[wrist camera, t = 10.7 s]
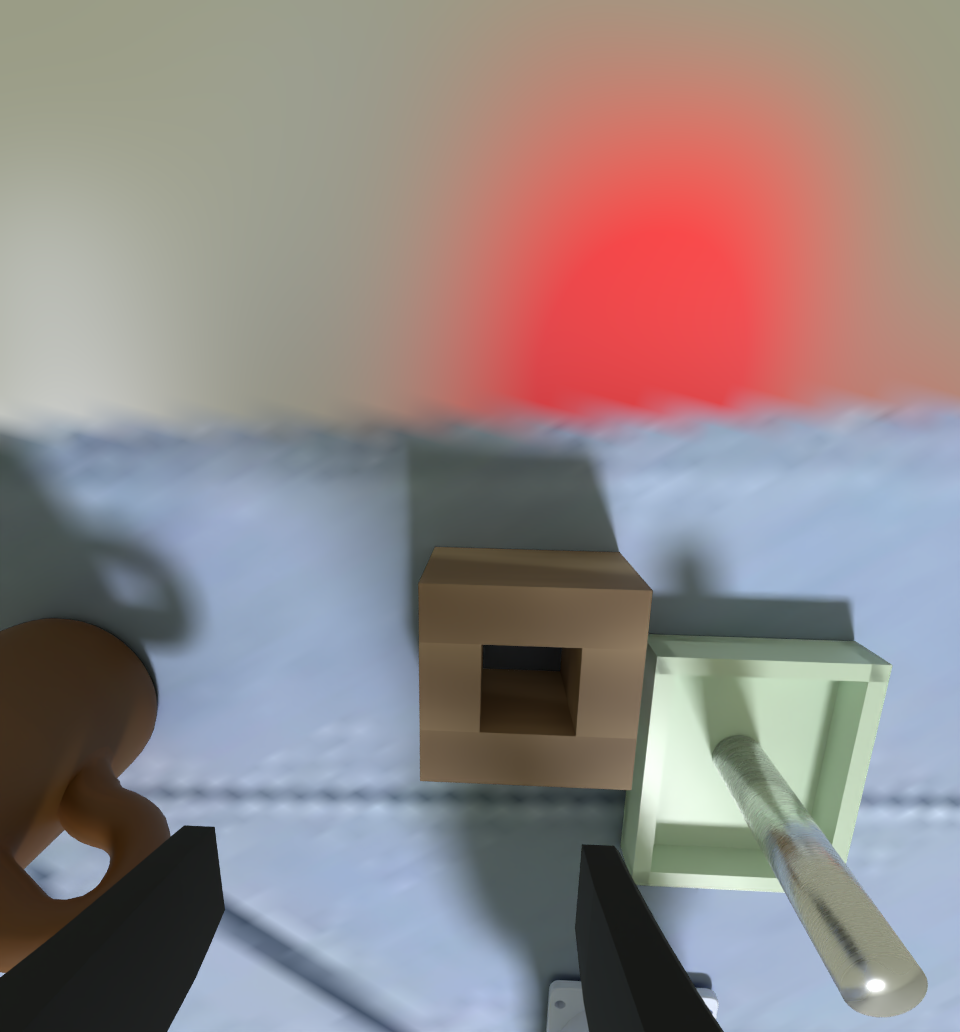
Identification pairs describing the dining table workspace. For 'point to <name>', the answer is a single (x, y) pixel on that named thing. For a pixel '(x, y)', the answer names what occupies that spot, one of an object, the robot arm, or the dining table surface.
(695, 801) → the tray
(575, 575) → the walnut block
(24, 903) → the mug
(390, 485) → the dining table surface
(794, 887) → the pin
